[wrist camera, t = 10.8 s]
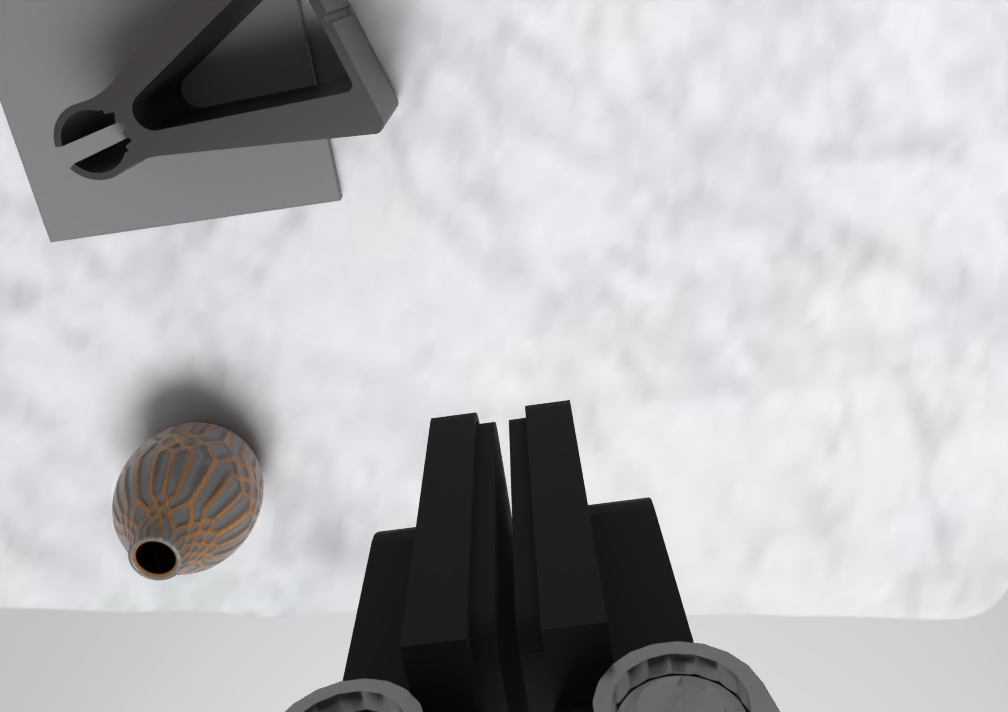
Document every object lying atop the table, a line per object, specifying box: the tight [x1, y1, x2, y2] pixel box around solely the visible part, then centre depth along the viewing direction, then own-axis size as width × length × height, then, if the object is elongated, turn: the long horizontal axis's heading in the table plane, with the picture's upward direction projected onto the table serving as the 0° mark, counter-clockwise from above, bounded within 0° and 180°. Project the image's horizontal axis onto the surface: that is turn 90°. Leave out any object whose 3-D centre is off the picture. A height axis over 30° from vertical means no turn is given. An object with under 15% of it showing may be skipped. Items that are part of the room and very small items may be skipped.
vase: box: [112, 422, 263, 580], centre depth 45 cm, size 7×7×9 cm
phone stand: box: [54, 0, 398, 180], centre depth 37 cm, size 9×6×12 cm
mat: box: [0, 0, 342, 242], centre depth 39 cm, size 14×18×1 cm
